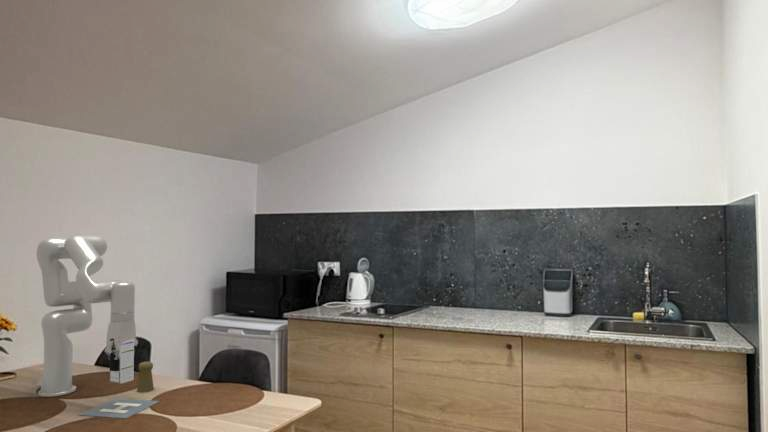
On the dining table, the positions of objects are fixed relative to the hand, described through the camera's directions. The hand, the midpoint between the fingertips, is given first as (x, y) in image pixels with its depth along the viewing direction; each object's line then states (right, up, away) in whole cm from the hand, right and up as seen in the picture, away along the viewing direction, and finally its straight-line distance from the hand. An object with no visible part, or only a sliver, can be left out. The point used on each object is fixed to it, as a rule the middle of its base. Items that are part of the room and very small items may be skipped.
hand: (121, 367), depth 182 cm
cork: (-1, -15, +21) cm, 26 cm away
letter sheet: (0, -14, 0) cm, 14 cm away
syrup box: (0, -5, 0) cm, 5 cm away
